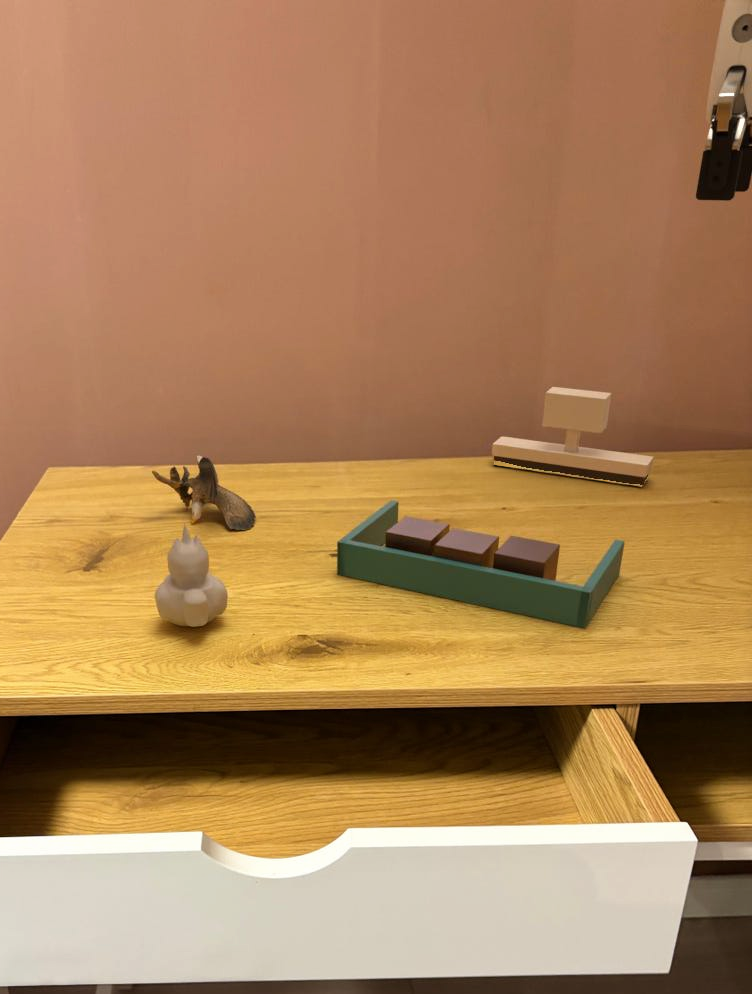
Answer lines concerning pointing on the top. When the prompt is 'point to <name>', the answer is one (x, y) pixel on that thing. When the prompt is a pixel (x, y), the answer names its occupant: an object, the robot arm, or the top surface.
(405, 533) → the block
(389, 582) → the corral
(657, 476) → the top surface
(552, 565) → the block
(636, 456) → the brush
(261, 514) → the top surface
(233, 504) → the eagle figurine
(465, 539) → the block
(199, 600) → the grey rounded lumpy piece
